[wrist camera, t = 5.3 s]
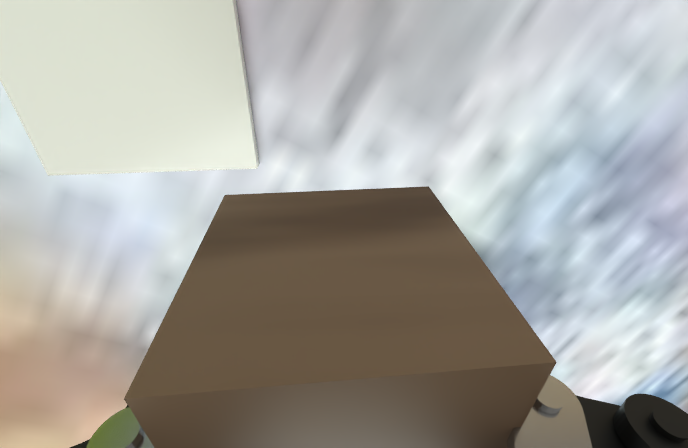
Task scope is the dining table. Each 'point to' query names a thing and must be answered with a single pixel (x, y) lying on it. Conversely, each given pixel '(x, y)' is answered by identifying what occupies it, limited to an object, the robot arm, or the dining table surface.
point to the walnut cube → (338, 332)
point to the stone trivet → (129, 84)
